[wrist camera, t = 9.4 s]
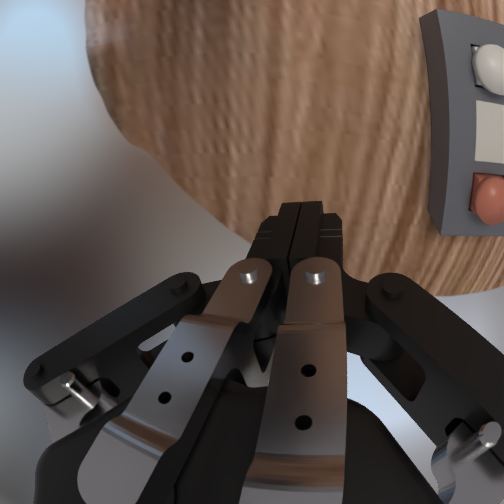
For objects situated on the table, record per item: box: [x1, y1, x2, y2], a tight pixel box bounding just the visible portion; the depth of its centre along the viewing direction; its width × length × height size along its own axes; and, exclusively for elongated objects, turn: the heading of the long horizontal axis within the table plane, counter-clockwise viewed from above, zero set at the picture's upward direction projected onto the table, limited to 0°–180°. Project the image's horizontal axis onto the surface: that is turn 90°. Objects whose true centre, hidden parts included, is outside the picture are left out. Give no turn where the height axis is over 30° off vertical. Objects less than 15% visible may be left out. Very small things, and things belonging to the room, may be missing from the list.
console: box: [419, 9, 504, 236], centre depth 24 cm, size 27×12×7 cm, turn 11°
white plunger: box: [471, 44, 504, 95], centre depth 19 cm, size 6×6×8 cm
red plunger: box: [469, 172, 504, 225], centre depth 26 cm, size 6×6×8 cm
